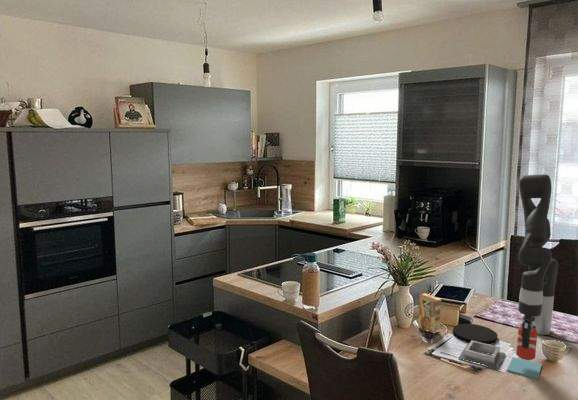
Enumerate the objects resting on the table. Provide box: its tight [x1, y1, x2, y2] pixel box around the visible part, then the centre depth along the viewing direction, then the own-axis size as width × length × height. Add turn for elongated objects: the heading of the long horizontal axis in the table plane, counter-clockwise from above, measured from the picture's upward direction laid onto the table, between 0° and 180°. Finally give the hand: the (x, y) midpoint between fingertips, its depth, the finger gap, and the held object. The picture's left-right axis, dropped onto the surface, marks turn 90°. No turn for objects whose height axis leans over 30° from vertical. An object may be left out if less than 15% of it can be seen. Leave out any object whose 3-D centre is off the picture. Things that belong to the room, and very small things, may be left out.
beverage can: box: [515, 323, 538, 361], centre depth 174 cm, size 6×6×12 cm
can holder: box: [458, 340, 506, 371], centre depth 183 cm, size 14×14×4 cm
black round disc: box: [452, 323, 498, 345], centre depth 203 cm, size 18×18×2 cm
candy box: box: [417, 293, 442, 333], centre depth 207 cm, size 9×4×15 cm, turn 33°
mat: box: [506, 356, 543, 380], centre depth 175 cm, size 12×10×1 cm
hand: (526, 344), depth 174 cm, fingers closed on beverage can, 6 cm apart
